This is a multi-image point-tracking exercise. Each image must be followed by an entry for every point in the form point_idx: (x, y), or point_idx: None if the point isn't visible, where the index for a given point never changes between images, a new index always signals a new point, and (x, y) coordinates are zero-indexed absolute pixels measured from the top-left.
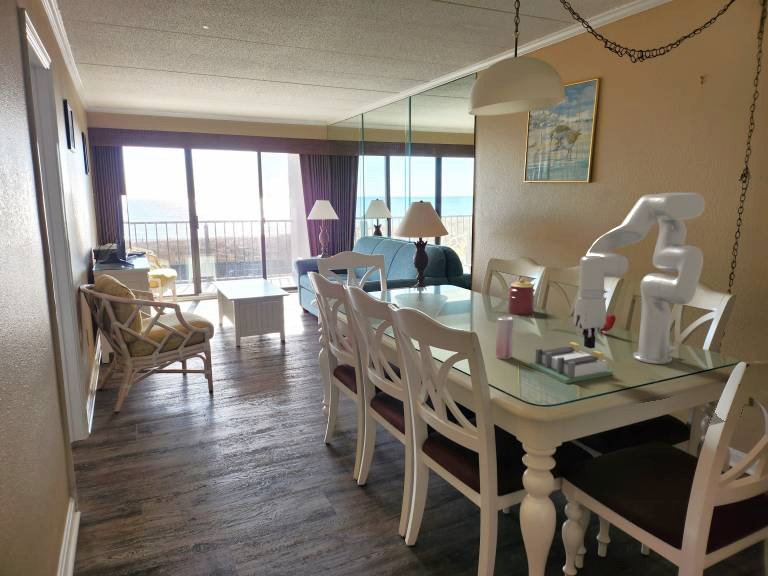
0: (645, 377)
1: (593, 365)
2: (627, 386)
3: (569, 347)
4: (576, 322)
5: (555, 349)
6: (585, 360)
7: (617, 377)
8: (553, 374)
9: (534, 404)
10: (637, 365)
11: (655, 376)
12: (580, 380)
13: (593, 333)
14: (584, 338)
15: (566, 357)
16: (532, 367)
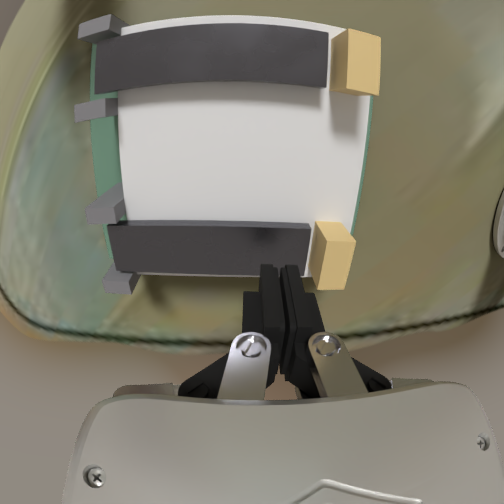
0: (393, 304)
1: None
2: None
3: (323, 50)
4: (143, 435)
5: (202, 35)
6: (216, 274)
7: None
8: (97, 194)
9: (15, 308)
10: (468, 227)
11: (416, 306)
12: None
13: (298, 391)
14: (243, 323)
15: (194, 146)
16: None
